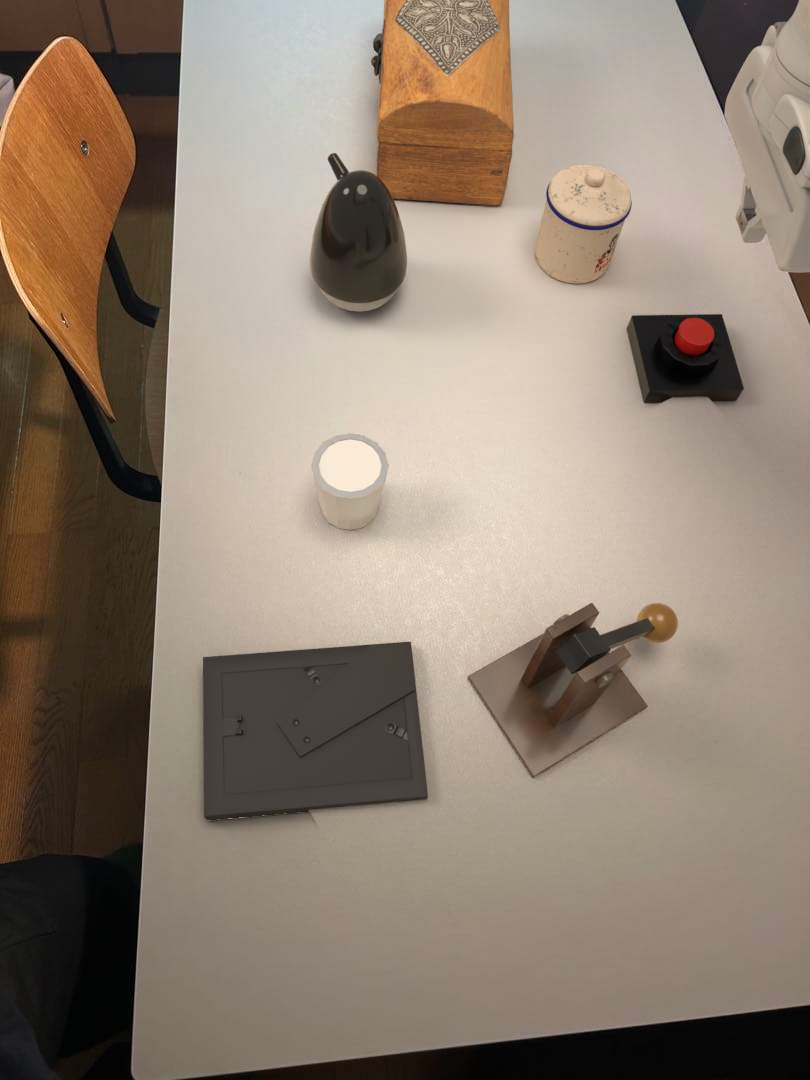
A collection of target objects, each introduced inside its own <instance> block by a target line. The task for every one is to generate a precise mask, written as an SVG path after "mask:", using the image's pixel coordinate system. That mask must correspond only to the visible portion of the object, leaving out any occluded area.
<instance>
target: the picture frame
mask: <svg viewBox="0 0 810 1080" xmlns="http://www.w3.org/2000/svg"><path fill="white" fill-rule="evenodd" d="M417 692H418V691H417V685H416V675H415V666H414V658H413V648H412V642H411V641H401V642H400V641H399V642H386V643H374V644H373V643H372V644H359V645H346V646H333V647H320V648H307V649H294V650H293V649H292V650H279V651H278V650H277V651H267V652H265V651H264V652H253V653H240V654H229V655H228V654H225V655H214V656H213V655H212V656H211V655H210V656H202V721H203V723H202V724H203V725H202V726H203V727H202V730H203V731H202V732H203V733H202V734H203V735H202V737H203V817H204V818H205V820H206V821H207V820H216V821H218V820H217V819H227V820H229V819H228V818H238V819H240V818H239V817H249V818H253V817H252V816H261V817H263V816H262V815H272V816H276V815H275V814H283V815H285V814H284V813H294V814H298V813H297V812H305V813H309V812H308V811H311V810H319V809H320V810H321V809H322V810H323V809H331V808H345V807H355V806H365V805H367V806H368V805H378V804H387V803H389V804H390V803H398V802H399V803H400V802H410V801H420V800H427V799H428V797H429V794H428V793H429V791H428V784H427V775H426V774H427V773H426V766H425V756H424V748H423V747H424V746H423V739H422V730H421V721H420V711H419V704H418V703H419V702H418V693H417Z"/></svg>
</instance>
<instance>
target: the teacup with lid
mask: <svg viewBox="0 0 810 1080" xmlns="http://www.w3.org/2000/svg"><path fill="white" fill-rule="evenodd" d="M545 195H546V200H545V201H546V202H545V205H544V209H543V214H542V217H541V220H540V221H541V222H540V226H539V230H538V234H537V238H536V242H535V246H534V254H535V255H534V256H535V258H536V261H537V263H538V265H539V266H540V267H541V269H542V270H543V271H544V272H545V273H546V274H547V275H548V276H549V277H552V278H554V279H555V280H558V281H560V282H563V283H567V284H586V283H590V282H593V281H595V280H597V279H599V278H601V277H602V276H603V275H604V274H605V273H606V272H607V270H608V269H609V266H610V264H611V261H612V258H613V256H614V253H615V248H616V246H617V244H618V241H619V238H620V235H621V233H622V230H623V227H624V224H625V220H626V219H627V218H628V217H629V215H630V213H631V211H632V205H633V201H632V194H631V190H630V189H629V186H628V184H627V183H626V182H625V181H624V180H623V179H622V178H621V177H620V176H619V175H618V174H616V173H615V172H613V171H611V170H610V169H607V168H604V167H602V166H598V165H593V164H576V165H571V166H568V167H565V168H564V169H561V170H560V171H558V172H557V173H555V175H554V176H553V177H552V179H551V180H550V181H549V182H548V185H547V188H546V192H545Z"/></svg>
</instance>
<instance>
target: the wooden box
mask: <svg viewBox="0 0 810 1080" xmlns="http://www.w3.org/2000/svg"><path fill="white" fill-rule="evenodd" d="M383 1H384V2H383V19H382V21H383V23H382V30H381V32H378V33H377V34H376V35H375V37H374V38H373V41H372V49H373V50H374V52H376V55H374V56H373V57H372V58H371V60H370V64H371V66H372V67H373V73H374V74H373V75H374V76H375V77H377V76H378V83H379V95H378V107H377V122H376V138H377V147H376V149H377V150H376V176H378V177H379V178H380V179H381V180H382V181H383V183H384V184H385V185H386V186H387V188H388V190H389V191H390V193H391V195H392V197H393V199H394V200H395V199H396V200H411V201H413V200H414V201H424V202H425V201H428V202H442V203H454V204H468V205H486V206H501V205H502V204H503V201H504V197H505V194H506V191H507V186H508V179H509V172H510V167H511V162H512V158H513V157H512V156H513V143H514V137H515V128H514V126H515V125H514V106H513V105H514V104H513V85H512V84H513V83H512V65H511V62H512V61H511V34H510V33H511V31H510V30H511V29H510V0H383Z"/></svg>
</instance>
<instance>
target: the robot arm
mask: <svg viewBox="0 0 810 1080" xmlns="http://www.w3.org/2000/svg"><path fill="white" fill-rule="evenodd" d="M724 105H725V106H724V119H725V122H726V124H727V127H728V130H729V133H730V136H731V138H732V141H733V145H734V147H735V149H736V150H735V151H736V152H737V156H738V158H739V161H740V163H741V166H742V169H743V172H744V175H745V176H744V178H743V183H742V190H741V198H740V205H739V207H738V209H737V212H736V214H735V215H734V218H735V220H736V221H735V222H736V223H737V227H738V229H739V232H740V235H741V239H742V242H743V243H745V244H747V243H748V244H751V243H753V244H757V243H760V242H762V241H763V240H764V238H765V236H766V237H767V240H768V242H769V245H770V248H771V250H772V253H773V256H774V259H775V262H776V265H777V268H778V269H779V270H780V271H781V272H783V273H810V0H798V2H797V5H796V7H795V10H794V11H793V14H792V15H791V17H790V18H789V19H788V20H787V21H777V22H775V23H774V24H773V25H770V26H769V27H768V29H767V30H766V33H765V35H764V37H763V40H762V42H761V44H760V45H758V46H756V47H754V48H753V49H752V50H751V51H750V52H749V54H748V55H747V57H746V59H745V61H743V64H742V66H741V68H740V70H739V71H738V73H737V75H736V77H735V79H734V81H733V84H732V85H731V88H730V90H729V92H728V94H727V97H726V100H725V104H724Z"/></svg>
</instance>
